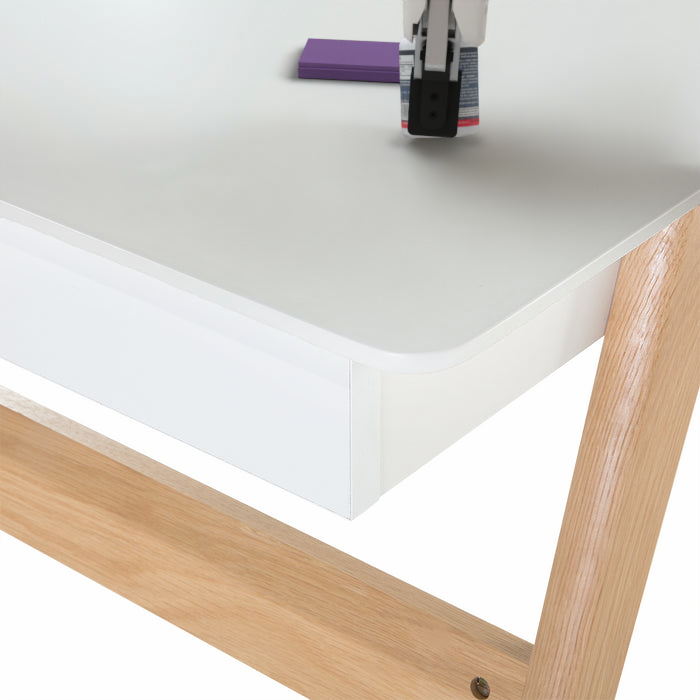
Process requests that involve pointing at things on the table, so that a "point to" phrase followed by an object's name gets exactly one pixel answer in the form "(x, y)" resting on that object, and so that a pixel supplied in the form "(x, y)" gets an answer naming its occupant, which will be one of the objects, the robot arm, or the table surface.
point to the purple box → (350, 60)
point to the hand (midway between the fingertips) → (432, 130)
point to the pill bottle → (468, 94)
